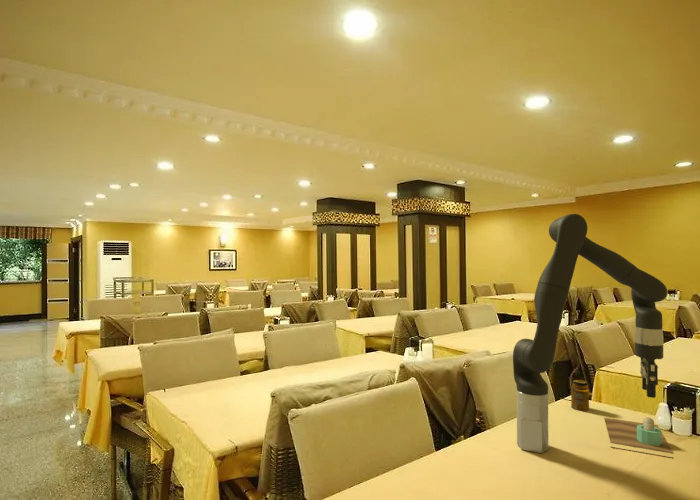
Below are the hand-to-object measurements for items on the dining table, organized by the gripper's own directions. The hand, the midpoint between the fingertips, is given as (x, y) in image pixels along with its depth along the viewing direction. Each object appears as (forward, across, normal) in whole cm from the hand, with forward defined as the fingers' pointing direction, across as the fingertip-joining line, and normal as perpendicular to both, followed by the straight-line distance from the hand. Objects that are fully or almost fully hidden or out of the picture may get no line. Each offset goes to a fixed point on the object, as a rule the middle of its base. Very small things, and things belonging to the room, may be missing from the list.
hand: (648, 393), depth 134 cm
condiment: (+17, -23, -19) cm, 34 cm away
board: (+17, -5, -3) cm, 18 cm away
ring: (+15, 0, 0) cm, 15 cm away
